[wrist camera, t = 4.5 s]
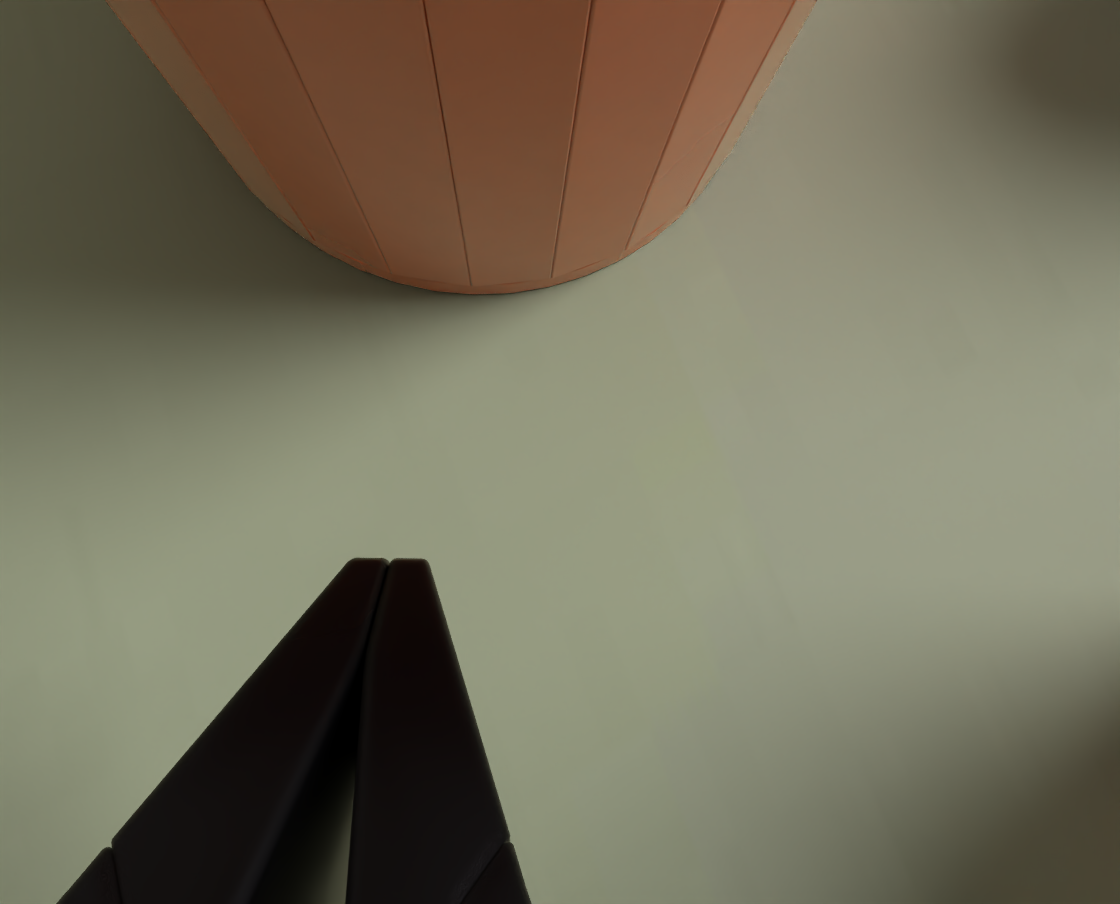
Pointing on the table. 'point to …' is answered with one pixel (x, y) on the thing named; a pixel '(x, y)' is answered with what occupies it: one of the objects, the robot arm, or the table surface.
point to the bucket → (471, 121)
